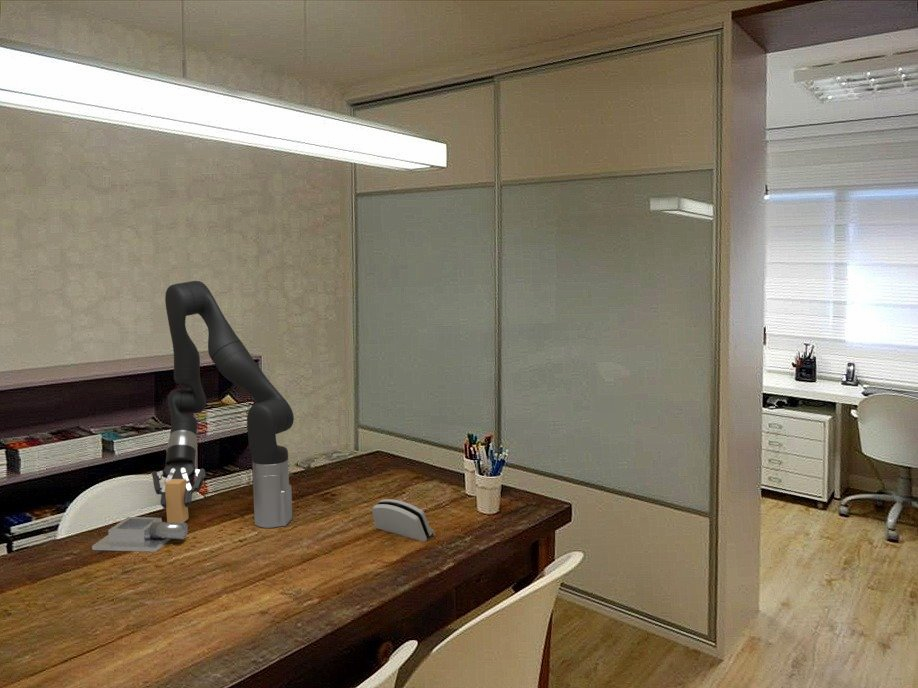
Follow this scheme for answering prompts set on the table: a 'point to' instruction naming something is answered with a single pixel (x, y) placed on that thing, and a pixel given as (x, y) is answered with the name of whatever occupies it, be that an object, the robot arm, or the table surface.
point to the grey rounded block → (401, 519)
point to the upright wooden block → (176, 500)
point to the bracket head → (141, 534)
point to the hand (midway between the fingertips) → (175, 506)
